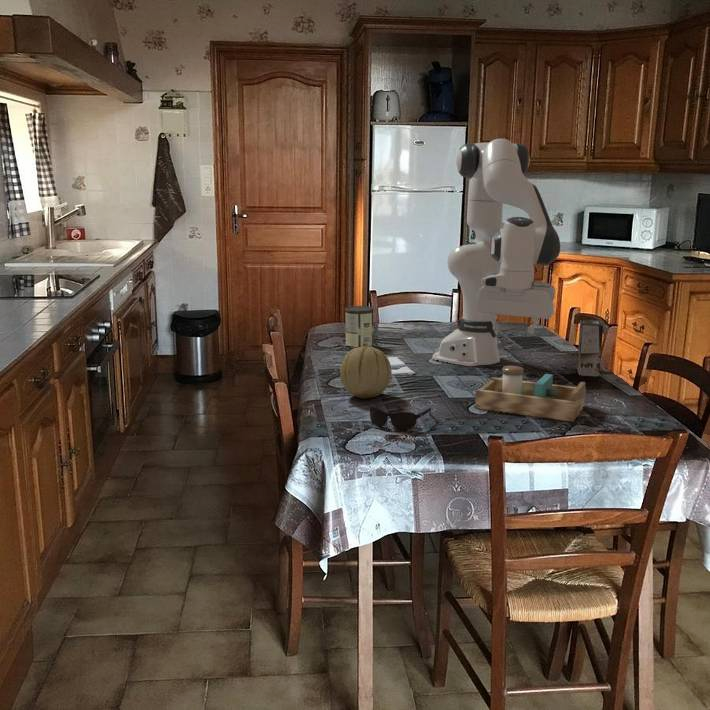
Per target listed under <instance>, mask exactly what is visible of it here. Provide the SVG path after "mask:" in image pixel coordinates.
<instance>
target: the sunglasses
mask: <svg viewBox="0 0 710 710" xmlns="http://www.w3.org/2000/svg"><path fill="white" fill-rule="evenodd" d="M385 405H394V406H395V408H397V409H398V410H399V411H398V412H387V411H384V410H383V409H381V408H380V407H382V406H385ZM400 410H401V411H400ZM403 410H404V409H403V407H402V406H401V405H399V404H398V403H397V402H395V401H384V402H380V403H377V404H374V405H372V406H370V407H369V417H370V420H371V422H372V424H373V425H374V426H377V427H380V428H381V427H384V426H386V424H387V423H388V419H390V422H391V424H392V426H393V428H394V429H395V430H398V431H409V430H412V429H413V428H414V427H415V426H416V424H417V420H418V419H419V418H421V417H423V416H425V415H426V414H428V413H429V414H428V415H429V416H431V410H432V407H429V408H427V409H425V410H423V411H422V412H419V413H418V414H416V413H414V412H409V411H403ZM388 417H389V418H388Z"/></svg>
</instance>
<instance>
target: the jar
mask: <svg viewBox="0 0 710 710" xmlns="http://www.w3.org/2000/svg"><path fill="white" fill-rule="evenodd" d="M524 370H525V368H523V366H517V365H504V366H503V367H502V378H503V384H502V392H504V393H512V394H520V395H521V394H522V381H523V377H524V375H523V374H524Z"/></svg>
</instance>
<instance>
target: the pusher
mask: <svg viewBox="0 0 710 710" xmlns="http://www.w3.org/2000/svg"><path fill="white" fill-rule="evenodd" d="M553 379H554V375H553V374H549V373H545V374H544V375H543V376H542V377H541V378H539V379H538V380H537V382H536V383H535V390H534V396H535V397H543V398H551V399H552V397H559V390H554V389H552V384H553V382H554V381H553Z"/></svg>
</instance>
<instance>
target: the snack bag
mask: <svg viewBox="0 0 710 710" xmlns="http://www.w3.org/2000/svg"><path fill="white" fill-rule="evenodd" d="M386 357H387V356H386ZM387 358H388V360H389V362H390V365H391V367H393V366H405V365H406V363H405V362H403V361H402V360H401V359H399V358H398V356H389V357H387ZM404 373H405V374H406V373H408V374H417V373H416V372H415V371H413V370H412V369H411V368H409V366H407V365H406V366H405V367H402V368H400V369H398V370H392V374H404Z"/></svg>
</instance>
